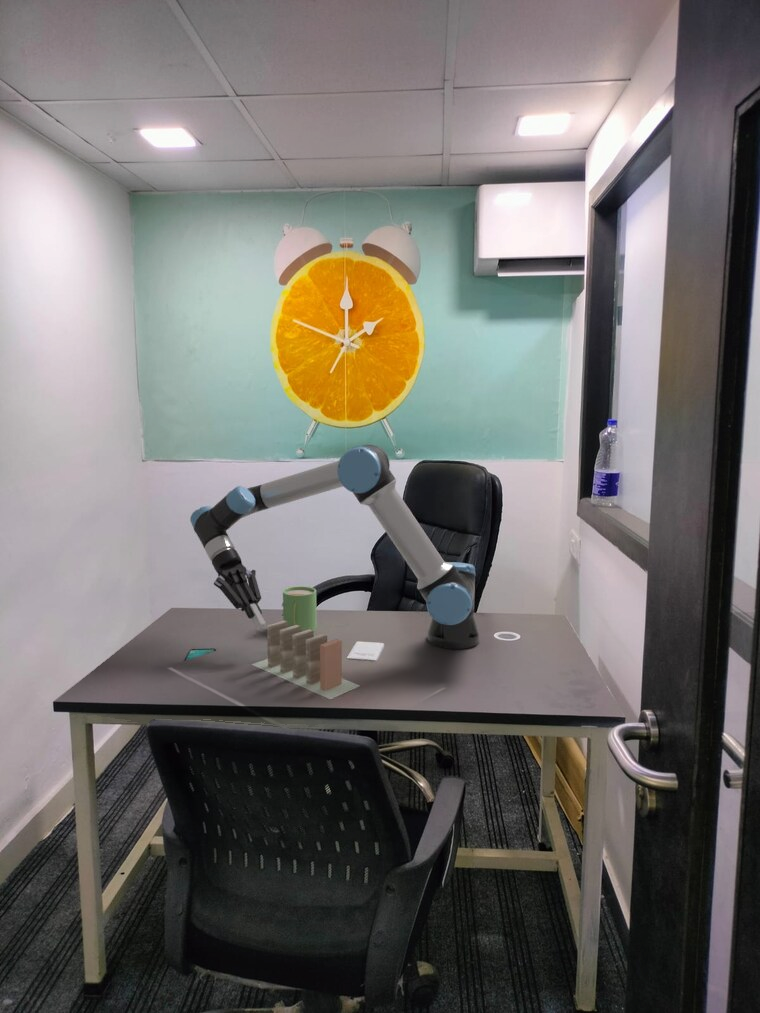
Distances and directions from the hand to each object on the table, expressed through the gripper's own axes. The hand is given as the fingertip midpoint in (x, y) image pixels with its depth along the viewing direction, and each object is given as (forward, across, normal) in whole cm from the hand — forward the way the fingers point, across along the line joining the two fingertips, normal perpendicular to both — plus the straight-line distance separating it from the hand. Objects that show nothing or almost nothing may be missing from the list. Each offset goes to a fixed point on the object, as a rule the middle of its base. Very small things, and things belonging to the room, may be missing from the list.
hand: (261, 626), depth 172 cm
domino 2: (+15, 0, +2) cm, 15 cm away
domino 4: (+22, 0, +9) cm, 23 cm away
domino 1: (+11, 0, -1) cm, 11 cm away
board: (+18, 0, +5) cm, 19 cm away
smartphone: (-2, +12, -16) cm, 20 cm away
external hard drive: (+19, -22, +5) cm, 30 cm away
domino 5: (+25, 0, +13) cm, 28 cm away
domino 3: (+18, 0, +6) cm, 19 cm away
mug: (-1, -22, -14) cm, 26 cm away
